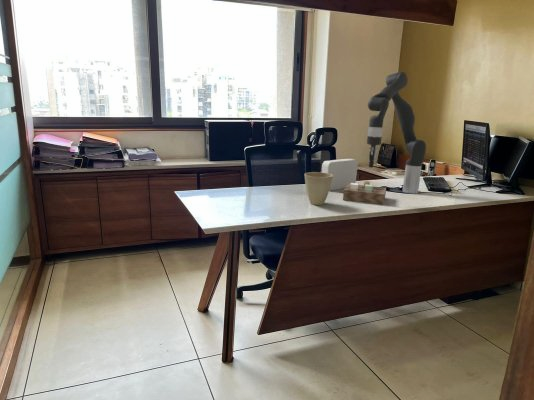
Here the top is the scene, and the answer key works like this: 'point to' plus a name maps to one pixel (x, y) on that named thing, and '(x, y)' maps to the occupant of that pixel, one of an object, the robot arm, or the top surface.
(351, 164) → the rounded white slab
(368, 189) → the sage green button
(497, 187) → the top surface
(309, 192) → the plant pot
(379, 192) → the switch panel
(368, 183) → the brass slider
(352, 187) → the off-white button
